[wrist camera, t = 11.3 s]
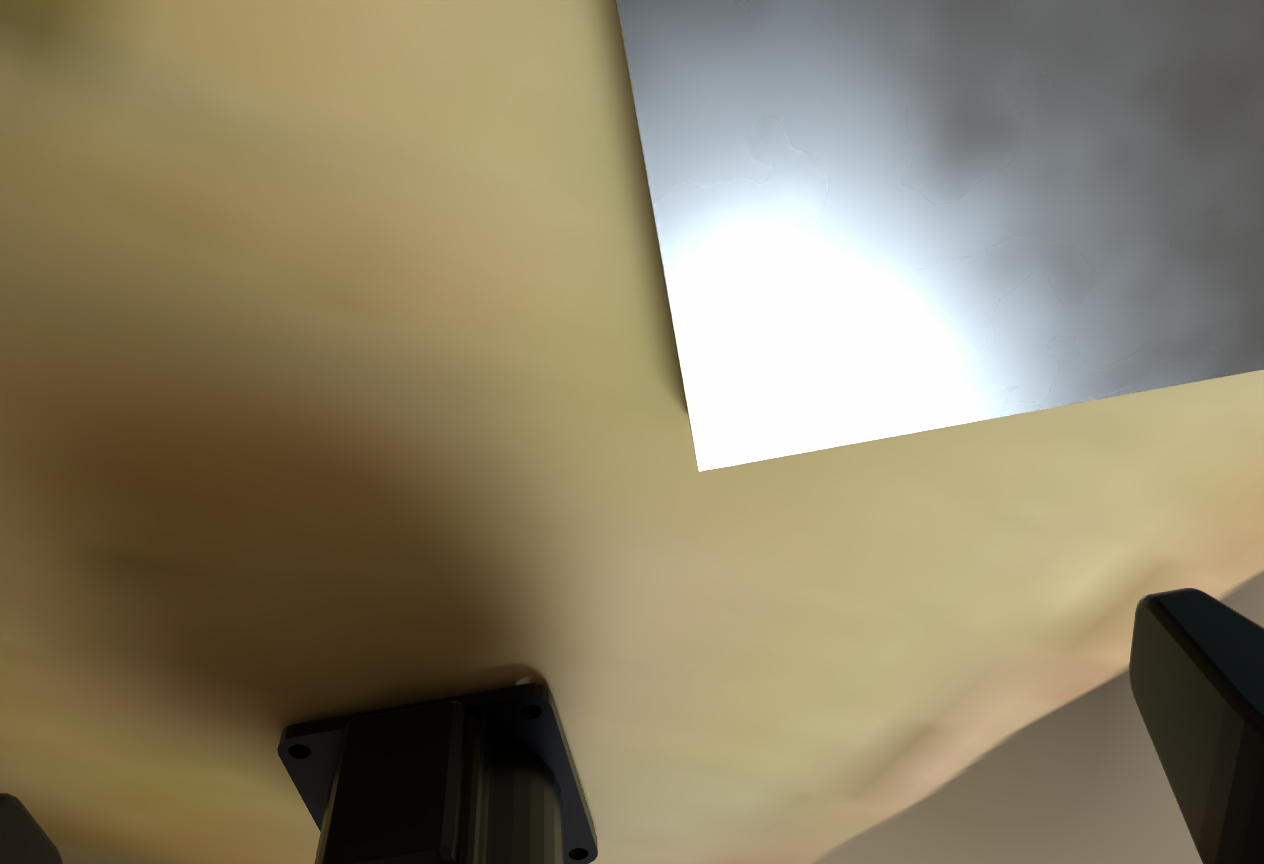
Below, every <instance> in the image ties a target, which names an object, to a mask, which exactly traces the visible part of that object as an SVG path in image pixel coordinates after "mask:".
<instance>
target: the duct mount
mask: <svg viewBox="0 0 1264 864" xmlns="http://www.w3.org/2000/svg"><path fill="white" fill-rule="evenodd" d="M616 6H617V12H618V17H619V23H620V29H621V35H622V40H623V46H624V52H625V57H626V63H627V69H628V75H629V80H630V86H631V92H632V97H633V103H634V109H635V114H636V120H637V126H638V132H639V137H640V143H641V149H642V154H643V160H644V166H645V171H646V177H647V183H648V189H649V194H650V200H651V206H652V211H653V217H654V223H655V228H656V234H657V240H658V246H659V251H660V257H661V263H662V268H663V274H664V280H665V286H666V291H667V297H668V303H669V308H670V314H671V320H672V325H673V331H674V337H675V343H676V348H677V354H678V360H679V365H680V371H681V377H682V382H683V388H684V394H685V400H686V405H687V411H688V417H689V422H690V428H691V433H692V438H693V443H694V448H695V453H696V458H697V463H698V468H699V471H704V470H709V469H715V468H721V467H726V466H732V465H737V464H743V463H748V462H754V461H759V460H765V459H770V458H776V457H781V456H787V455H793V454H798V453H804V452H809V451H815V450H820V449H826V448H831V447H837V446H842V445H848V444H853V443H859V442H864V441H870V440H876V439H881V438H887V437H892V436H898V435H903V434H909V433H914V432H920V431H925V430H931V429H936V428H942V427H948V426H953V425H959V424H964V423H970V422H975V421H981V420H986V419H992V418H997V417H1003V416H1008V415H1014V414H1019V413H1025V412H1031V411H1036V410H1042V409H1047V408H1053V407H1058V406H1064V405H1069V404H1075V403H1080V402H1086V401H1091V400H1097V399H1103V398H1108V397H1114V396H1119V395H1125V394H1130V393H1136V392H1141V391H1147V390H1152V389H1158V388H1163V387H1169V386H1174V385H1180V384H1186V383H1191V382H1197V381H1202V380H1208V379H1213V378H1219V377H1224V376H1230V375H1235V374H1241V373H1246V372H1252V371H1258V370H1263V369H1264V0H616Z"/></svg>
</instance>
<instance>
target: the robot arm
mask: <svg viewBox="0 0 1264 864" xmlns="http://www.w3.org/2000/svg"><path fill="white" fill-rule="evenodd" d="M1129 677H1130V684H1131V689H1132V692H1133V696H1134V699H1135V701H1136V704H1137V706H1138V708H1139V711H1140V713H1141V716H1142V718H1143V721H1144V723H1145V725H1146V728H1147V730H1148V733H1149V735H1150V738H1151V740H1152V742H1153V745H1154V747H1155V750H1156V752H1157V754H1158V757H1159V759H1160V762H1161V764H1162V767H1163V769H1164V771H1165V774H1166V776H1167V779H1168V781H1169V783H1170V786H1171V788H1172V791H1173V793H1174V796H1175V798H1176V800H1177V803H1178V805H1179V807H1180V810H1181V812H1182V815H1183V817H1184V819H1185V822H1186V824H1187V827H1188V829H1189V832H1190V834H1191V837H1192V839H1193V841H1194V844H1195V846H1196V849H1197V851H1198V853H1199V856H1200V858H1201V860H1202V862H1203V864H1264V628H1263V627H1262V626H1260V625H1258V624H1256V623H1255V622H1253V621H1252V620H1250V619H1248V618H1247V617H1245V616H1243V615H1242V614H1240V613H1238V612H1237V611H1235V610H1233V609H1232V608H1230V607H1228V606H1227V605H1225V604H1223V603H1222V602H1220V601H1218V600H1217V599H1215V598H1213V597H1212V596H1210V595H1208V594H1207V593H1205V592H1203V591H1200V590H1197V589H1193V588H1185V589H1179V590H1173V591H1167V592H1161V593H1155V594H1150V595H1147V596H1144V597H1143V598H1142V599H1141V600H1140V601H1139V603H1138V604H1137V608H1136V612H1135V620H1134V629H1133V638H1132V646H1131V655H1130V664H1129ZM527 704H535V706H527ZM299 744H302V745H299ZM277 750H278V754H279V757H280V758H281V760H282V762H283V764H284V766H285V768H286V769H287V771H288V773H289V775H290V777H291V779H292V781H293V782H294V784H295V786H296V788H297V790H298V792H299V793H300V795H301V797H302V799H303V801H304V803H305V804H306V806H307V808H308V810H309V812H310V814H311V815H312V817H313V819H314V821H315V823H316V825H317V826H318V828H319V830H320V832H321V834H320V839H319V844H318V849H317V854H316V859H315V864H589V863H591V862H592V861H594V860H595V859H596V857H597V855H598V850H597V836H596V833H595V830H594V827H593V823H592V820H591V817H590V814H589V811H588V807H587V804H586V801H585V798H584V795H583V792H582V788H581V785H580V782H579V779H578V776H577V772H576V769H575V766H574V763H573V760H572V757H571V753H570V750H569V747H568V744H567V741H566V737H565V734H564V731H563V728H562V725H561V722H560V718H559V715H558V712H557V709H556V706H555V702H554V699H553V696H552V694H551V692H550V691H549V689H547V688H546V687H544V686H542V685H538V684H523V685H517V686H511V687H506V688H500V689H494V690H488V691H483V692H477V693H471V694H465V695H460V696H454V697H448V698H442V699H437V700H431V701H425V702H419V703H413V704H408V705H402V706H396V707H390V708H385V709H379V710H373V711H367V712H362V713H356V714H350V715H344V716H339V717H333V718H327V719H321V720H315V721H310V722H304V723H298V724H294V725H291V726H288V727H287V728H285V729H284V730H283V732H282V734H281V737H280V741H279V745H278V749H277ZM0 864H63V863H62V859H61V856H60V853H59V851H58V849H57V848H56V846H55V845H54V844H53V842H52V841H51V840H50V838H49V837H48V836H47V835H46V833H45V832H44V831H43V829H42V828H41V827H40V826H39V824H38V823H37V822H36V820H35V819H34V818H33V817H32V815H31V814H30V813H29V811H28V810H27V809H26V808H25V806H24V805H23V804H22V802H21V801H20V800H19V799H18V798H16V797H14V796H12V795H10V794H8V793H0Z"/></svg>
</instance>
